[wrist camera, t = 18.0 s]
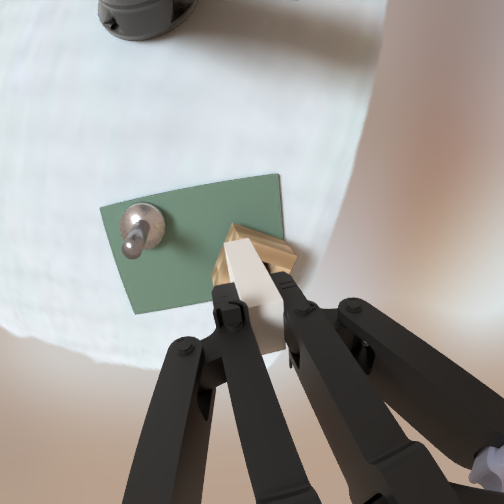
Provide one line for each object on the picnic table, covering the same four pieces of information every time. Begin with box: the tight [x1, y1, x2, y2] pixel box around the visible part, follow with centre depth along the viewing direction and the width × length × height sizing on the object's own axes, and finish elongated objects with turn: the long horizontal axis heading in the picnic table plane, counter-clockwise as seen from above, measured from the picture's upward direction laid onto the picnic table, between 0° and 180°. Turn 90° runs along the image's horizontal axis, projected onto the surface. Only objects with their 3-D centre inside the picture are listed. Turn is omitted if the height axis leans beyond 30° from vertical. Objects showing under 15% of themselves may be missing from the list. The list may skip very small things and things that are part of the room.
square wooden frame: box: [211, 223, 298, 287], centre depth 41 cm, size 9×9×6 cm
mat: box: [100, 174, 283, 314], centre depth 44 cm, size 20×28×1 cm
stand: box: [119, 201, 166, 260], centre depth 35 cm, size 7×7×10 cm
